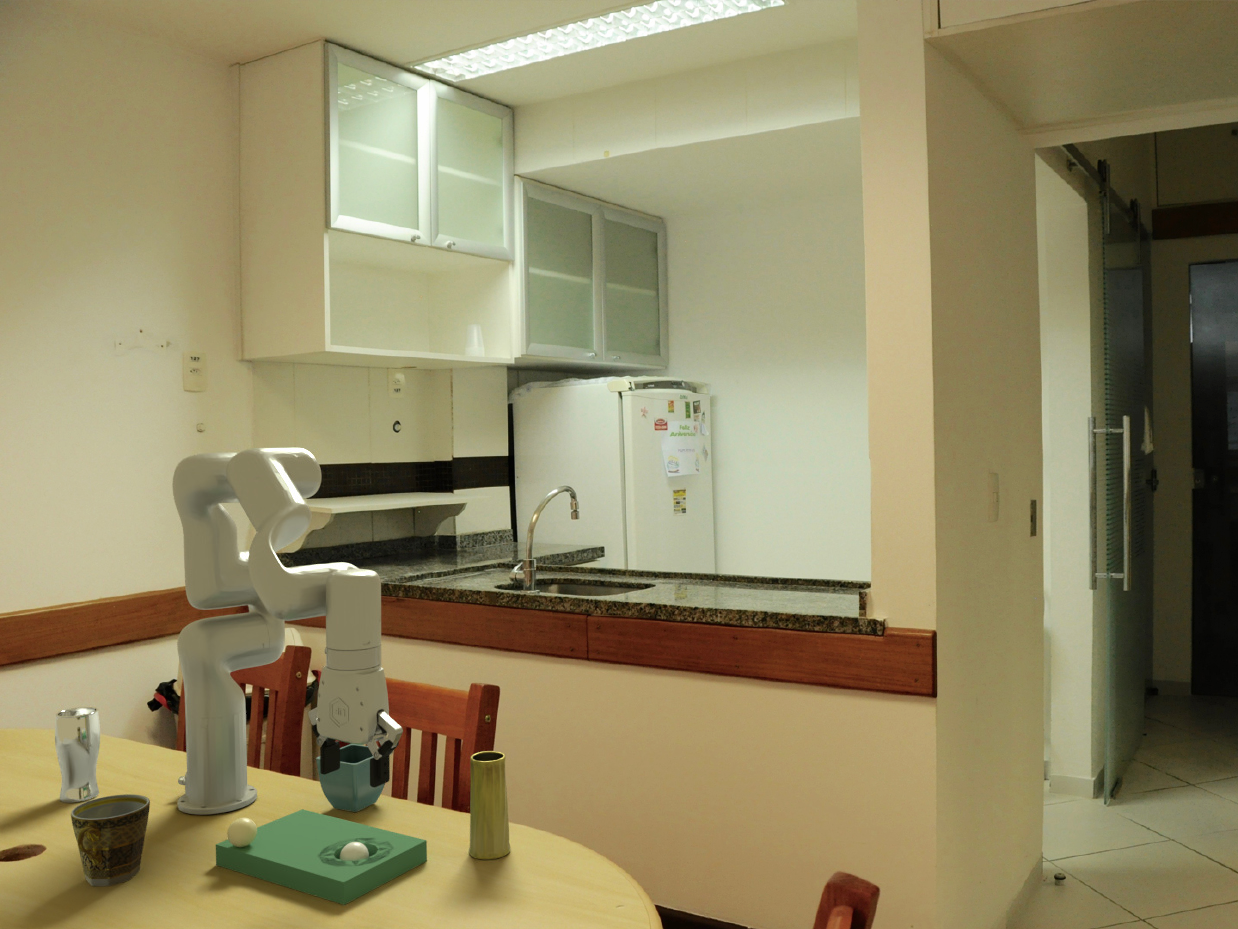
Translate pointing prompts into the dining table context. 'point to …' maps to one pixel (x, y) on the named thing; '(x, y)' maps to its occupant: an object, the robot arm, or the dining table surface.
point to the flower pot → (350, 780)
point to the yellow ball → (242, 832)
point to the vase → (488, 806)
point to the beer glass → (78, 752)
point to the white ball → (354, 852)
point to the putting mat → (323, 855)
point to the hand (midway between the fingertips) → (354, 778)
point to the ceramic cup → (111, 837)
